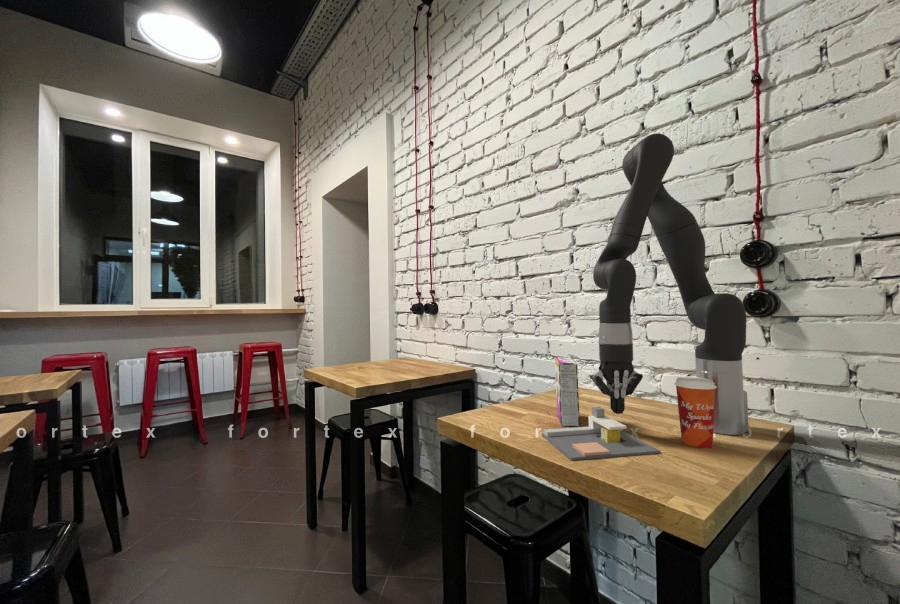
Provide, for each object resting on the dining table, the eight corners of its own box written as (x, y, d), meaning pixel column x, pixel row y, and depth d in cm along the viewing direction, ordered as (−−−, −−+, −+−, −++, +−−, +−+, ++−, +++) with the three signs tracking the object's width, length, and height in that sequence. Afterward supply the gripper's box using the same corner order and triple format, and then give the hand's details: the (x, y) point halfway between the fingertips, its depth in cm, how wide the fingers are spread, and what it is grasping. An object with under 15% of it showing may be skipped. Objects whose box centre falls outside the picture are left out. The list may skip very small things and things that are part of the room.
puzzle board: (617, 430, 88) (617, 423, 88) (660, 453, 73) (660, 445, 73) (541, 435, 85) (541, 429, 85) (571, 460, 70) (570, 452, 70)
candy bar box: (555, 414, 102) (554, 357, 103) (574, 414, 101) (572, 357, 102) (559, 426, 91) (558, 362, 92) (580, 427, 90) (578, 362, 91)
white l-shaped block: (604, 425, 87) (603, 406, 87) (626, 437, 78) (626, 416, 78) (588, 426, 86) (588, 407, 86) (610, 439, 77) (609, 418, 78)
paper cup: (680, 447, 76) (678, 381, 76) (673, 435, 83) (670, 375, 84) (725, 452, 73) (722, 383, 74) (713, 439, 80) (710, 377, 81)
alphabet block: (613, 438, 82) (613, 425, 82) (620, 443, 79) (620, 429, 79) (600, 438, 82) (600, 425, 82) (607, 444, 79) (606, 430, 79)
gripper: (630, 339, 91) (632, 407, 91) (582, 341, 90) (584, 410, 89) (650, 342, 84) (653, 415, 83) (598, 343, 82) (601, 419, 82)
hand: (617, 412), depth 86 cm, fingers closed
